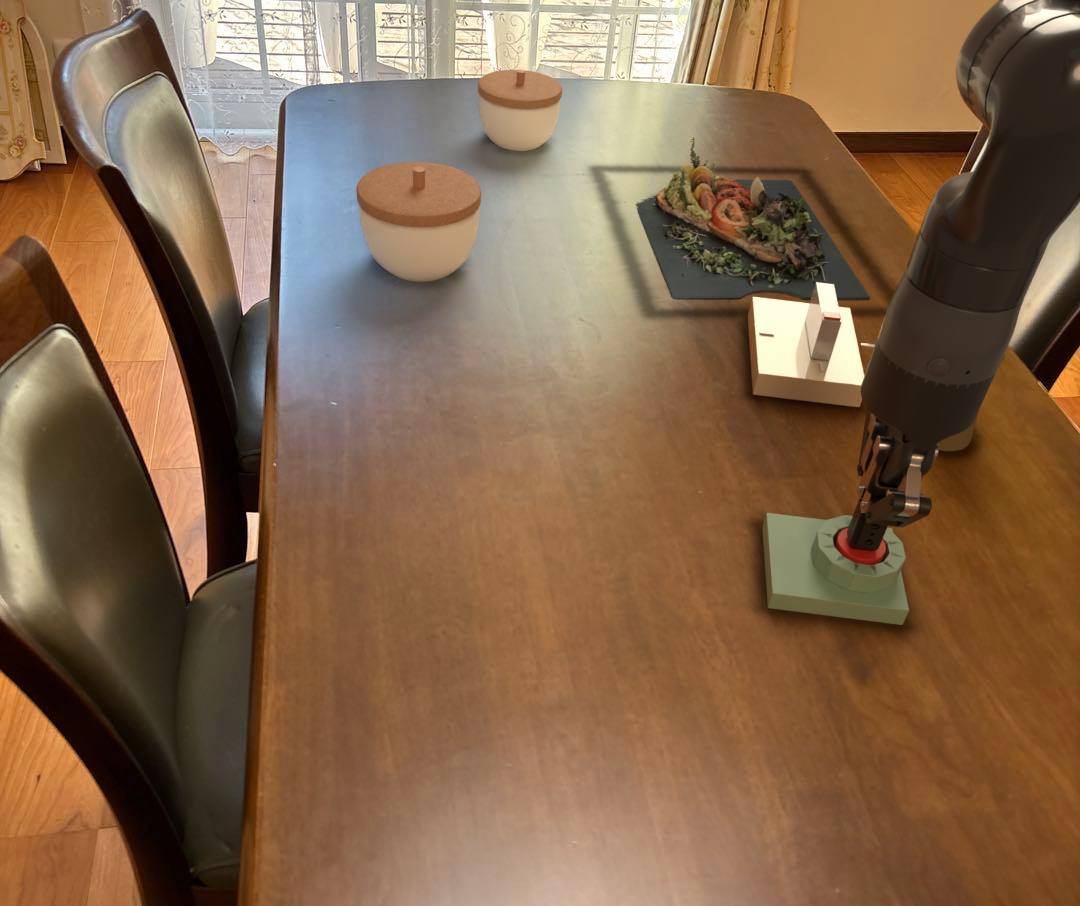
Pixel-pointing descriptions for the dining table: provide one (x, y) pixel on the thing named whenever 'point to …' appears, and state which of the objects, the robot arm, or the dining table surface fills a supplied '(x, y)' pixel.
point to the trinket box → (519, 108)
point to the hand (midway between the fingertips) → (861, 543)
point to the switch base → (801, 356)
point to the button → (858, 551)
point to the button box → (830, 572)
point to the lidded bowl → (419, 218)
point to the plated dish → (740, 239)
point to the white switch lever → (823, 321)
